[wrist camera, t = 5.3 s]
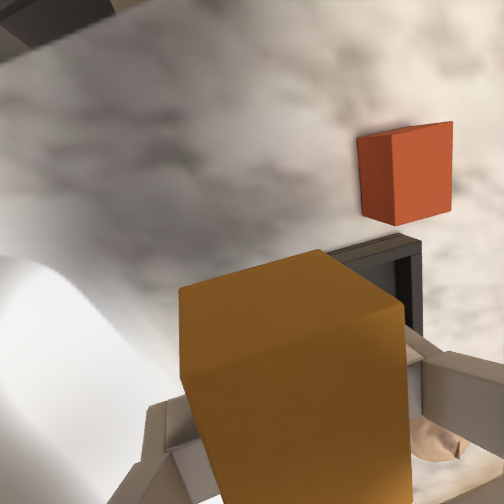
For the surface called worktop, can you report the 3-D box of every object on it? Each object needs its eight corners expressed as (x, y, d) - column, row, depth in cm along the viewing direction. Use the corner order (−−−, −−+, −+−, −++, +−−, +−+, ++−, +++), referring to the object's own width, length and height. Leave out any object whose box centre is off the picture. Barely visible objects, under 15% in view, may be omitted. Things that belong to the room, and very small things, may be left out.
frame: (188, 291, 23) (190, 307, 21) (399, 232, 26) (422, 240, 24) (218, 389, 27) (222, 412, 24) (403, 327, 29) (423, 343, 27)
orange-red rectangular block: (356, 138, 23) (391, 134, 19) (409, 126, 24) (453, 120, 20) (362, 216, 25) (395, 226, 21) (411, 203, 26) (451, 211, 22)
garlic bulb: (434, 368, 32) (513, 433, 25) (432, 416, 34) (503, 488, 27) (377, 386, 31) (441, 460, 23) (378, 434, 33) (437, 516, 26)
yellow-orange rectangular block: (177, 287, 9) (178, 376, 5) (318, 247, 10) (406, 302, 6) (224, 436, 11) (248, 577, 7) (339, 394, 12) (414, 504, 8)
